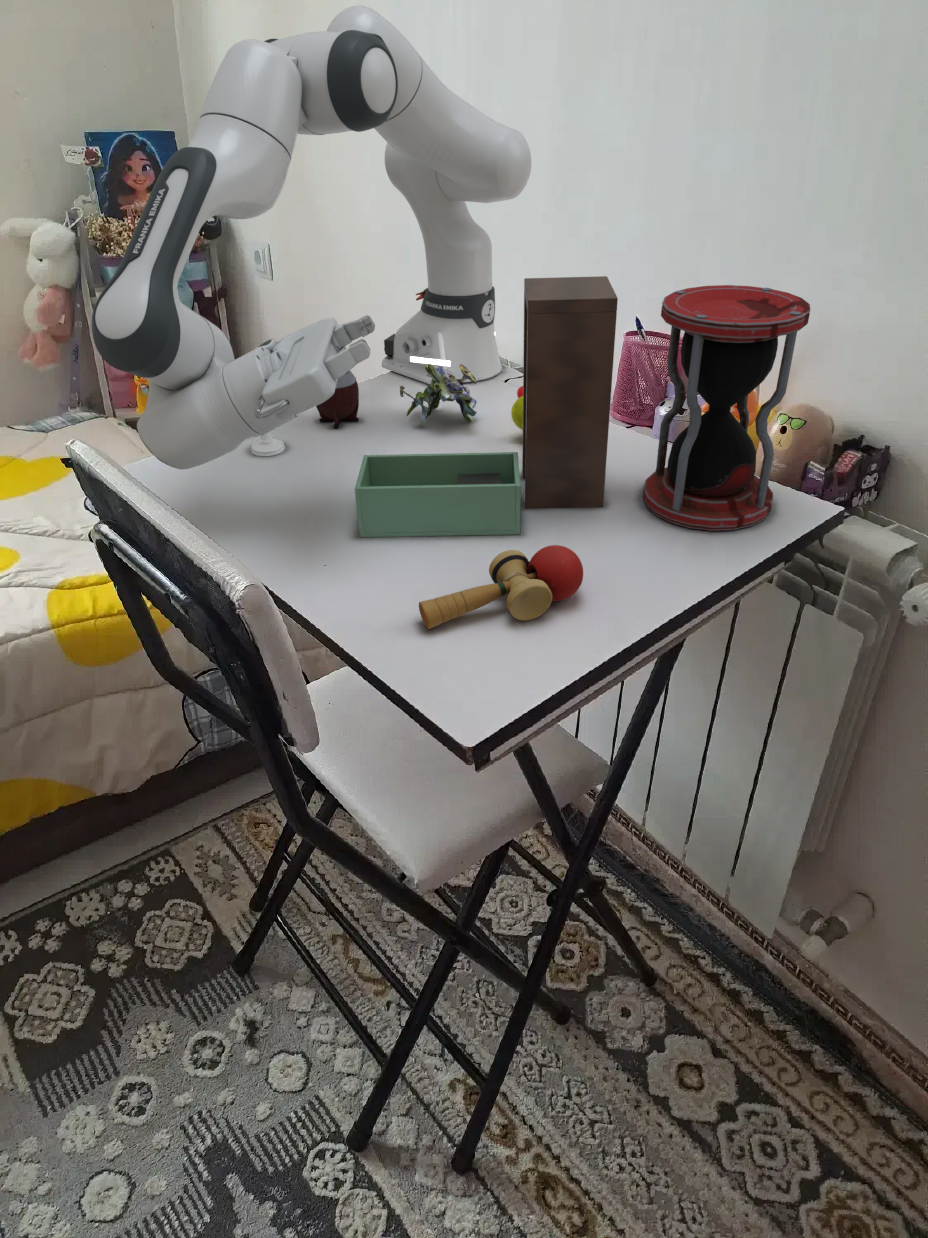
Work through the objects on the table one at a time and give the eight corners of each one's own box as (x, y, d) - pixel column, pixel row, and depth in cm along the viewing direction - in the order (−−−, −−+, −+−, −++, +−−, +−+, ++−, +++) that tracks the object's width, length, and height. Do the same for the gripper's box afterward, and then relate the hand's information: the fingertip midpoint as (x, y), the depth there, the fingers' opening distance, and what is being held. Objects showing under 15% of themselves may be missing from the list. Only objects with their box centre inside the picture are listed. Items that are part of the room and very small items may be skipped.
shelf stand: (525, 508, 111) (527, 300, 96) (522, 474, 119) (524, 278, 104) (603, 506, 110) (617, 297, 96) (594, 473, 119) (607, 275, 104)
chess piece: (290, 444, 130) (280, 379, 124) (276, 457, 126) (265, 391, 120) (260, 441, 131) (249, 377, 125) (245, 454, 127) (233, 389, 121)
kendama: (442, 661, 87) (601, 601, 90) (427, 607, 84) (592, 547, 87) (421, 631, 93) (569, 577, 97) (406, 580, 91) (560, 526, 94)
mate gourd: (321, 413, 140) (309, 319, 131) (369, 412, 140) (360, 318, 131) (312, 431, 134) (299, 333, 125) (363, 430, 133) (353, 333, 125)
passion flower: (467, 452, 139) (496, 406, 128) (404, 454, 134) (429, 406, 124) (449, 395, 142) (476, 346, 132) (388, 394, 138) (410, 343, 128)
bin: (359, 537, 106) (354, 488, 102) (368, 501, 114) (363, 454, 110) (520, 534, 105) (520, 485, 101) (517, 498, 113) (517, 451, 109)
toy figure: (553, 463, 121) (555, 418, 118) (514, 465, 122) (514, 419, 118) (543, 415, 136) (544, 374, 132) (508, 417, 136) (508, 375, 132)
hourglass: (730, 545, 101) (766, 331, 87) (617, 504, 111) (634, 305, 96) (794, 498, 111) (836, 298, 96) (685, 464, 120) (709, 276, 106)
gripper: (234, 396, 90) (348, 336, 87) (265, 338, 107) (361, 285, 103) (268, 447, 93) (379, 390, 90) (293, 382, 110) (387, 332, 107)
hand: (370, 333), depth 97 cm, fingers open, 8 cm apart
